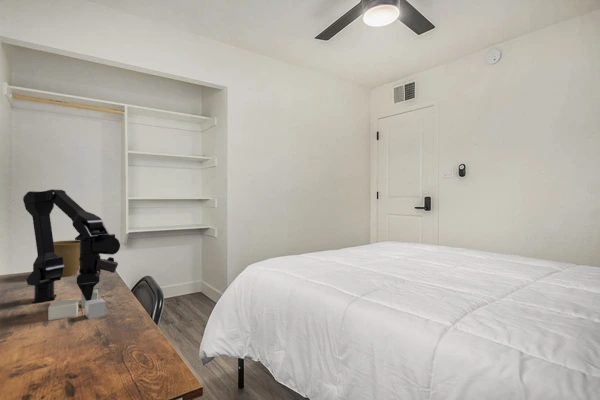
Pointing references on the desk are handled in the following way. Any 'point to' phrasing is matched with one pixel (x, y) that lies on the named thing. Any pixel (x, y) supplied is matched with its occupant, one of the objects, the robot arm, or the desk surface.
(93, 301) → the grey cube
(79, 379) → the desk surface
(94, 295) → the sage cube
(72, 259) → the plant pot
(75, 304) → the cream block
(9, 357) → the desk surface
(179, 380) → the desk surface
